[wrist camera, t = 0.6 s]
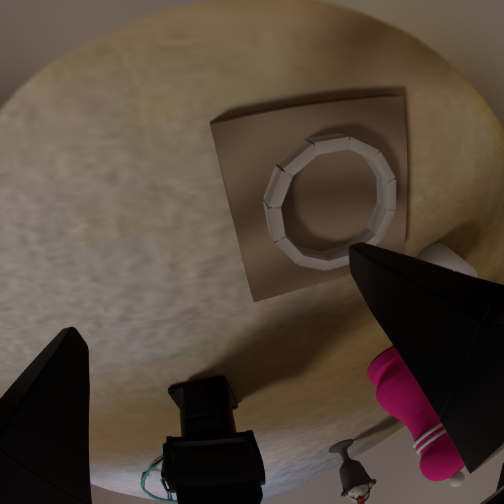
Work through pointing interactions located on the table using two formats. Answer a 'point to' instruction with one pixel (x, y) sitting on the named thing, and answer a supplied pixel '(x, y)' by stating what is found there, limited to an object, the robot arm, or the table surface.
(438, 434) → the pepper mill
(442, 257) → the lens
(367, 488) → the sundae
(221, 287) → the table surface
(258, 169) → the mount board
